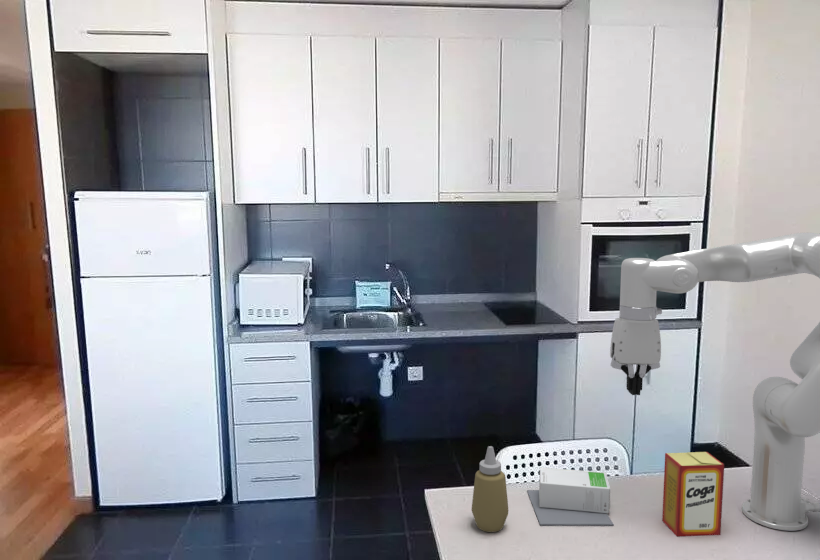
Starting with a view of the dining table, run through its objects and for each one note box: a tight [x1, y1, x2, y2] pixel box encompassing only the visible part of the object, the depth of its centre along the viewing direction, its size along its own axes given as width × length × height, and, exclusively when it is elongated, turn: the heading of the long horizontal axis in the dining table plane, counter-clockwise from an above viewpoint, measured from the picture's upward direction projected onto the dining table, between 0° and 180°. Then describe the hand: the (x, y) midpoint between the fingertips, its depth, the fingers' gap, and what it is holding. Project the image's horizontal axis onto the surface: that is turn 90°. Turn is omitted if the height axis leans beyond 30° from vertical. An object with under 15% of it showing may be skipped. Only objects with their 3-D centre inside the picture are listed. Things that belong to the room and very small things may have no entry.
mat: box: [526, 489, 615, 527], centre depth 138 cm, size 16×16×1 cm
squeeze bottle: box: [471, 445, 509, 533], centre depth 129 cm, size 8×8×18 cm
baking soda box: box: [661, 451, 725, 538], centre depth 128 cm, size 10×6×16 cm
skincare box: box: [538, 466, 611, 515], centre depth 139 cm, size 8×7×16 cm
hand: (634, 393), depth 135 cm, fingers closed
